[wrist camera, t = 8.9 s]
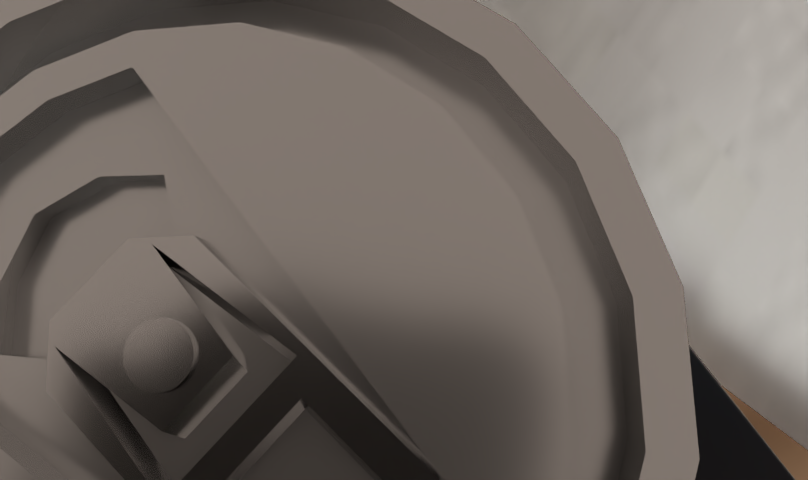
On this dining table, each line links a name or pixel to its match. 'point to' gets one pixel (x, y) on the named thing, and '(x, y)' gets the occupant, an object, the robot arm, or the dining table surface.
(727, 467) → the robot arm
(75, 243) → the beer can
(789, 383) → the dining table surface
